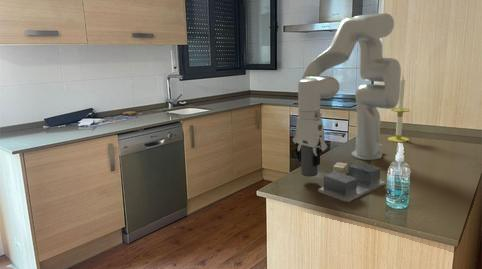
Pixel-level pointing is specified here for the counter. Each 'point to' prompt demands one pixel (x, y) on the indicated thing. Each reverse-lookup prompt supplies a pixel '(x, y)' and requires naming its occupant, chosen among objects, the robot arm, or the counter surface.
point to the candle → (400, 115)
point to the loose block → (340, 168)
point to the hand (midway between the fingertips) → (309, 162)
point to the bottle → (307, 161)
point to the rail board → (352, 182)
